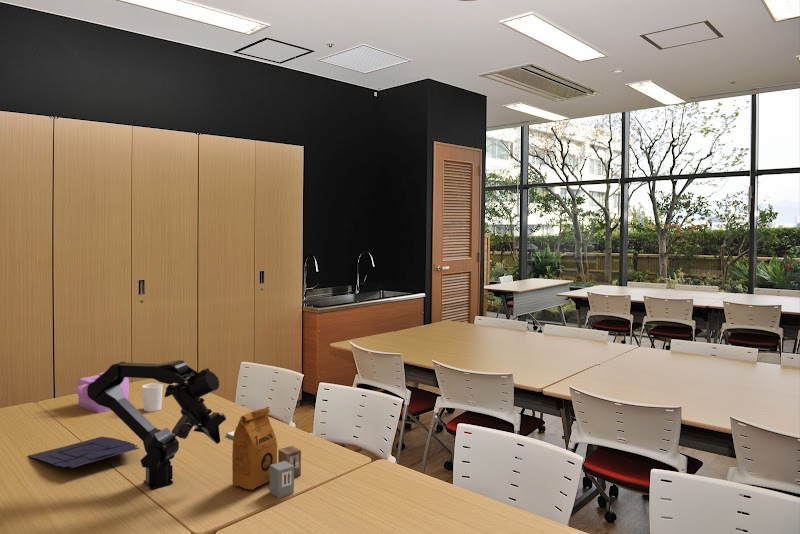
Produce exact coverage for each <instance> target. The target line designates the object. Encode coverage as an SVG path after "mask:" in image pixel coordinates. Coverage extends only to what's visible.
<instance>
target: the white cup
mask: <svg viewBox="0 0 800 534" xmlns="http://www.w3.org/2000/svg"><path fill="white" fill-rule="evenodd" d="M163 387H164V383H161V382H152V383H146V384H142V386H141V391H142V404H143V411H144V412H149V413H150V412H151V413H152V412H158V411H160V410H161V409H162V403H163V394H164V393H163V391H164V390H163V389H164V388H163Z"/></svg>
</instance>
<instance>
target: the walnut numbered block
mask: <svg viewBox="0 0 800 534" xmlns="http://www.w3.org/2000/svg"><path fill="white" fill-rule="evenodd" d="M282 461H286V462H288V463H290V464H291V465H293V466H294V479H295V478H297V477H301V475H302V472H301V471H302V470H301V469H302V449H299V448H297V447H296V446H294V445H290V446H287V447H286V446H285V447H283V448H279V449H278V448H277V463H279V462H282Z"/></svg>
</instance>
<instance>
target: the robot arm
mask: <svg viewBox="0 0 800 534" xmlns="http://www.w3.org/2000/svg"><path fill="white" fill-rule="evenodd" d="M102 373H103V372H102ZM125 377H129V378H135V379H153V380H156V381H157V383H161V384H167V386H166V388H165V393H164V397H165V398H167V397H170V396H172V397H173V398H174V400H175V401H176V403H177V404H178V405H179V407H180V414H181V415H182V416H181V417H180V418H179V419H178V421H177V422H176V424H175V426H174V427H173V428H172V430H170V429H169V428H167V427H165V428H163V429H158V428H157V427H156V426H155V425H153V423H152V422H151V421H149V419H148V418H146V416H144V415H143V414H142V412H141V411H139V410H138V409H137V408H136V407H135V406H134V405H133V404H132V403H131V402H130V400H129V401H128V400H127V399H126V398H125V397H124V395H123V391H122V387H121V386H120V384H121V383H122V382H123V380H124V378H125ZM219 387H220V380H219V378H218V376H216V374H215V373H214V372H212V371H211V370H210V369H209V367H206V368H204V369H201V370H200V371H199V372H198V371H197V370H195V369H193V368H192V367H191V366H189V365H188V364H187V363H186V361H185V360H183V359H182V360H181V359H179V360H172V361H171V360H170V361H166V362H162V363H150V362H149V363H148V362H147V363H145V362H127V361H126V362H125V361H120V362H117V363H113V364H111V366H110V367H109V368H107V370H106V371H105V373H103V374H102V375H101V376H100V377H98V378H97V379H96V380H95V381H94V382H92V383H90V384H89V386H88V389H87V392H88V393H87V395H88V397H89V398H90V399H91V400H93V401H94V402H95V403H97V404H98V405H101V406H104V407H107V408H110V409H111V410H110V411H112V412H113V413H114V414H115V415H116V417H117V418H119V419H120V420H121V421H122V422H123V423H124V424H125V425H126V426H127V427H128V428H129V429H130V431H132V432H133V433H134V434H135V435H136V436H137V437H138V438H139V439H140V440H141V441H142V444H143V448H144V451H145V453H146V454H145V455H144V456H143V457H142V458H141V459H140V463H141V467H142V468H145V479H144V480H143V483H144V484H145V485H146V486H147V487H148V489H150V490H154V489H157V488H161V487H165V486H168V485H169V486H170V485H172V484H173V483H174V481H173V475H174V474H173V473H174V472H173V469H174V468H173V465H172V461H171V460H172V459H174V458H175V456H176V453H178V451H179V449H180V445H179V443H180V442H179V440H178V439H177V437H178V438H179V439H183V440H186V439H187V438H188V437H189V434H190V432H191V430H192V429H193V427H194V429H193V432H196V433H202V434H204V435H206V436H207V437H208V438H209V439H211V440H212V442H214V443H215V444H216V445H218V444H220V443H221V436H220V425H221V424H223V423H224V422H225V421H226V420H227V417H226V415H225V414H224V413H223V412H213V411H212V409H211V408H208V407H207V405H206V404H205V403H204V402H205V399H204V398H203V397H204V396H207V395H208V394H212V393H214V392H215V391H217V390H218V389H219Z"/></svg>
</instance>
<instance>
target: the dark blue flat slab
mask: <svg viewBox="0 0 800 534" xmlns="http://www.w3.org/2000/svg"><path fill="white" fill-rule="evenodd" d="M139 449H140V447H138V445H137V444H135V443H132V442H130V441H127V440H123V439H122V440H121V439H118V438H114V437H106V436H98V437H95V438H91V439H88V440H84V441H83V440H82V441H81V442H80V441H79V442H77V443H73V444H69V445H66V446H61V447H56V448H53V449H52V448H51V449H49V450H45V451H41V452H38V453H33V454H29V455H28V457H30V458H32V459H33V458H34V459H38V461H39V460H40V461H42V462H46V463H49V464H52V465H53V466H56V467H61V468H66V467H69V468H73V469H74V468H77V467H80V466H83V465H87V464H90V463H95V462H98V461H100V460H104V459H108V458H111V457H114V456H115V457H116V456H118V455H121V454H124V453H128V452H132V451H135V450H139Z"/></svg>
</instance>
